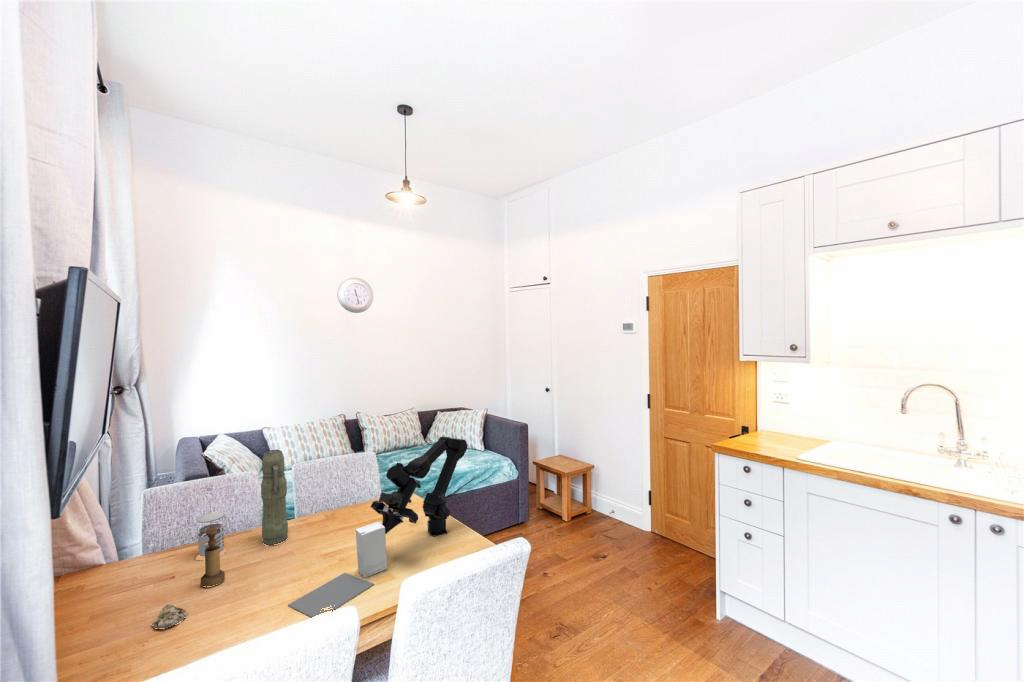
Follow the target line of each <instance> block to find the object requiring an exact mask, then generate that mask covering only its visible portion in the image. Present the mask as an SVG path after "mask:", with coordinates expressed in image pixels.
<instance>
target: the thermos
mask: <svg viewBox="0 0 1024 682" xmlns="http://www.w3.org/2000/svg"><path fill="white" fill-rule="evenodd" d="M261 463H262V465H261V468H262V469H261V471H262V480H261V483H260V497H261V500H262V518H263V519H262V520H263V523H262V524H261V525H262V526H261V538H262V544H263V543H264V544H266V545H273V546H275V545H274V544H278V543H281V542H283V541H285V540H286V539H287V538H288V539H289V537H288V535H289V534H288V533H289V522H288V519H287V503H286V497H287V494H288V484H287V478H286V474H285V455H284V453H283V451H282V450H280V449H271V450H267V451H266V452H264V453H263V457H262V459H261ZM288 539H287V540H288ZM287 540H286V541H287ZM286 541H285V542H286ZM283 543H284V542H283ZM281 544H282V543H281ZM278 545H279V544H278Z"/></svg>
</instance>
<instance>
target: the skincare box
mask: <svg viewBox="0 0 1024 682" xmlns="http://www.w3.org/2000/svg"><path fill="white" fill-rule="evenodd" d="M355 540H356V541H355V542H356V555H357V556H356V557H357V558H356V559H357V571H358V572H359V574H360V575H361V576H362V577H363V578H364V579H366V578H368V577H371V576H373V575H375V574H377V573H380V572H383V571H386V570H388V560H387V541H386V540H387V539H386V534H385V527H384V526H383V525H382V523H380V521H376V522H373V523H370V524H367V525H365V526H362V527H361V526H360V527H359V528H356V529H355Z"/></svg>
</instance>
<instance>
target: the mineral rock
mask: <svg viewBox="0 0 1024 682" xmlns="http://www.w3.org/2000/svg"><path fill="white" fill-rule="evenodd" d="M187 614H188V615H189V612H188V611H187V610H186V609H184V608H181V607H178V606H175V604H166V605H164V606H163V607H162V609H161V610H160V612H158V615H157V617H156V618H155V620H154V621H152V622H151V624H152V625H154V627H155V628H166V629H169V628H168V627H170V628H171V626H172V627H174V626H173V625H175V624H177V623H179V622H180V621H182V620H183V619H184V617H186V616H187V617H188V615H187ZM184 620H185V619H184ZM184 620H183V621H184ZM152 625H151V626H152ZM155 628H154V629H155Z"/></svg>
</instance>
